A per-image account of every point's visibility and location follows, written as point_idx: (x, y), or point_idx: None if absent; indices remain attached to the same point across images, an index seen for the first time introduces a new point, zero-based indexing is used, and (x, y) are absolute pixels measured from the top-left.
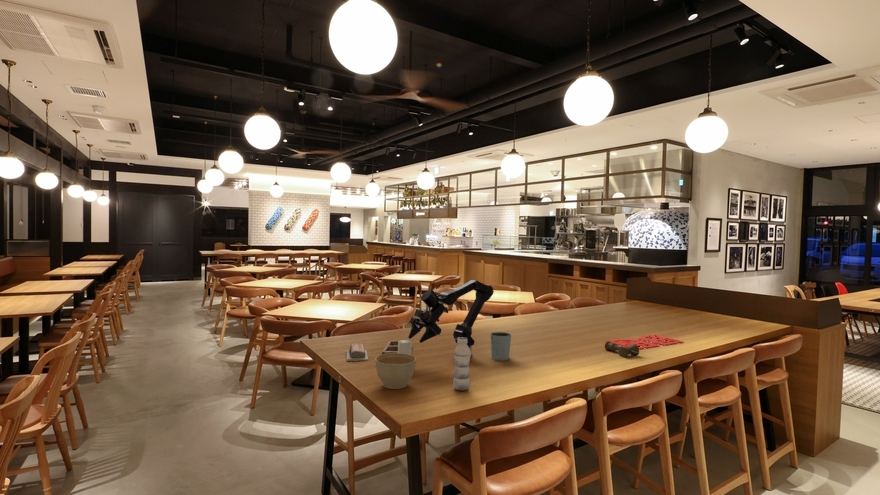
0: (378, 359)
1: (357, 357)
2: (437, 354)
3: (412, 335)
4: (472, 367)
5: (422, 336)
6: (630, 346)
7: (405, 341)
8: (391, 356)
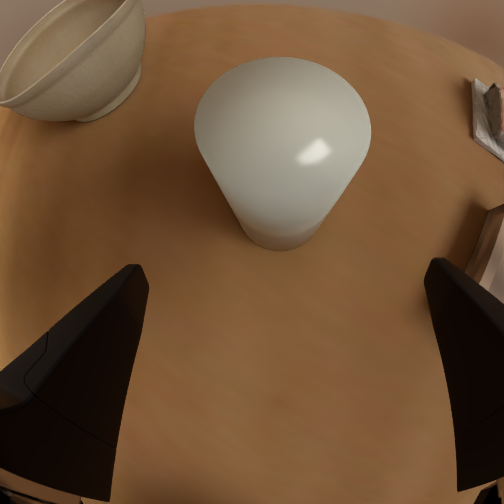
0: None
1: (488, 112)
2: (388, 492)
3: (448, 329)
4: (114, 481)
5: (86, 314)
6: None
7: (277, 120)
8: (119, 20)
